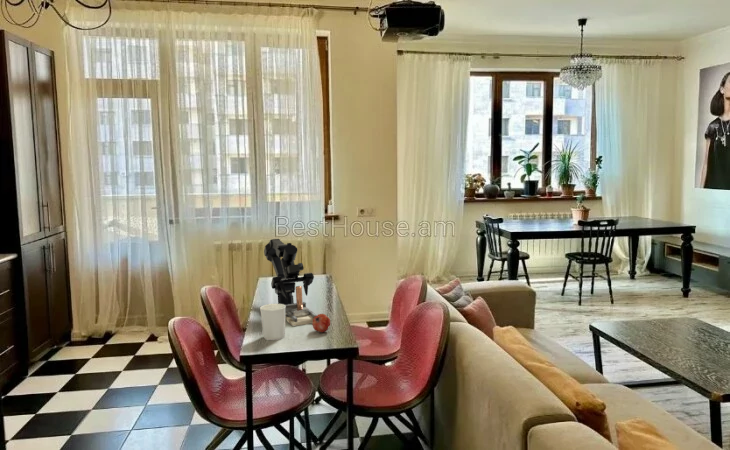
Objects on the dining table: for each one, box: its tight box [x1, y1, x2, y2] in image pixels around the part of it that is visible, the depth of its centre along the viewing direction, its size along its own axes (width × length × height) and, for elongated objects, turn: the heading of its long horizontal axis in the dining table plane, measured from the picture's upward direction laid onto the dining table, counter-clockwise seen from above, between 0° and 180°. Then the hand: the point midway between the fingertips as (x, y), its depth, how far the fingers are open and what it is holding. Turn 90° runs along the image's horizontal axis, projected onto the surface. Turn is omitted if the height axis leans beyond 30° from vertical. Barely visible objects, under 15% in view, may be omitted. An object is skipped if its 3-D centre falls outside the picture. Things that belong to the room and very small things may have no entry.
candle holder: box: [259, 303, 286, 341], centre depth 198 cm, size 10×10×12 cm
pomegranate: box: [311, 313, 331, 333], centre depth 203 cm, size 7×7×10 cm
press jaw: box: [291, 285, 310, 317], centre depth 221 cm, size 4×7×13 cm, turn 114°
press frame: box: [285, 301, 318, 327], centre depth 222 cm, size 18×12×4 cm, turn 24°
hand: (296, 296), depth 225 cm, fingers open, 9 cm apart
